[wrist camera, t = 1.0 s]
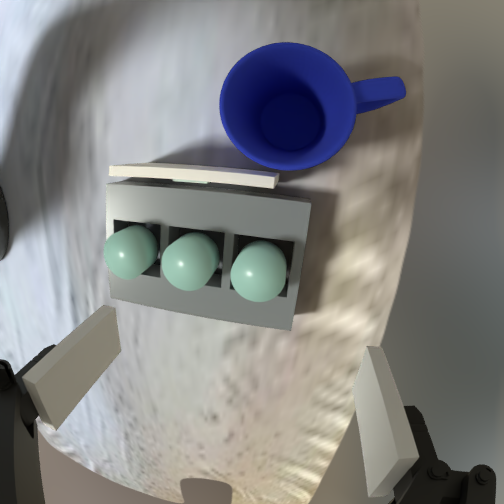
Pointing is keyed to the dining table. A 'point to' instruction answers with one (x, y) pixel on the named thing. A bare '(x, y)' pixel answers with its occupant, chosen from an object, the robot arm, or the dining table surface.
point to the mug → (296, 105)
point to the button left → (131, 251)
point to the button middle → (190, 261)
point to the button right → (259, 271)
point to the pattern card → (197, 174)
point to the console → (232, 224)
